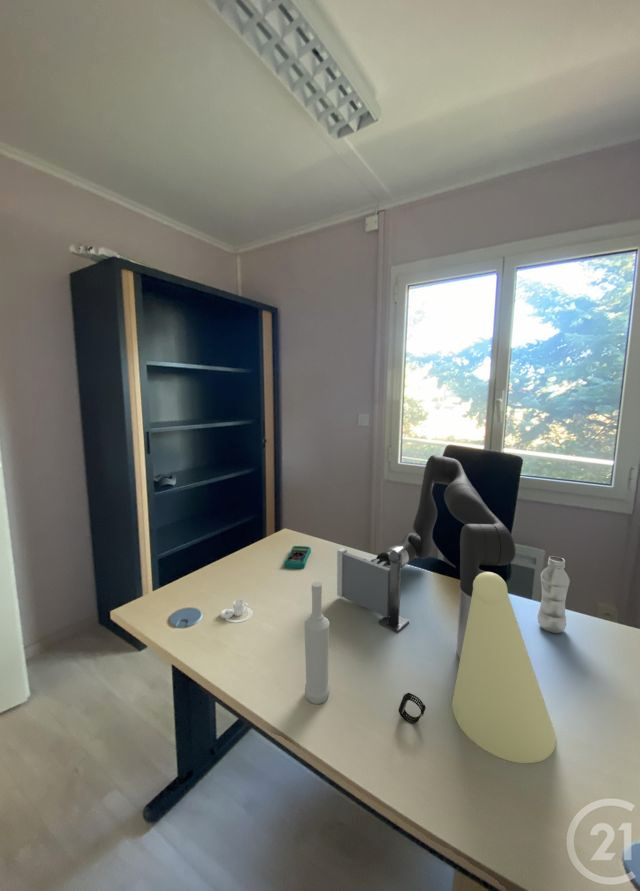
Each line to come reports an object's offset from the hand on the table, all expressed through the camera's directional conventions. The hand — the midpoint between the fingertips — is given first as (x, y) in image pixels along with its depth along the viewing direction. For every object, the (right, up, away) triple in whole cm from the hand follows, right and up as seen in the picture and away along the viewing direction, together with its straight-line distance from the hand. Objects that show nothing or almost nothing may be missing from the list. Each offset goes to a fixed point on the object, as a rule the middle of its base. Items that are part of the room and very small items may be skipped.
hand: (362, 577), depth 112 cm
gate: (0, -7, -2) cm, 8 cm away
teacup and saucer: (-39, -9, -3) cm, 40 cm away
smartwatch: (+5, -14, -40) cm, 43 cm away
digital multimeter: (-21, -5, +31) cm, 38 cm away
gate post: (+8, -9, -9) cm, 15 cm away
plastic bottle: (+50, -10, -12) cm, 52 cm away
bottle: (-13, -13, -34) cm, 39 cm away
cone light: (+21, -14, -42) cm, 49 cm away
